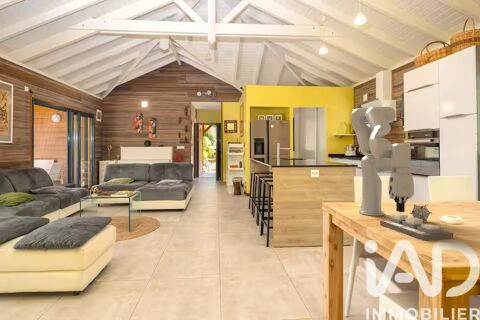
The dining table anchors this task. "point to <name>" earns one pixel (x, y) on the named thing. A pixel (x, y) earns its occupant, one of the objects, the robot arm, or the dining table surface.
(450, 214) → the dining table surface
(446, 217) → the dining table surface
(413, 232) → the button board
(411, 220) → the middle button
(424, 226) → the button
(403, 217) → the button
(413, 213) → the game die
